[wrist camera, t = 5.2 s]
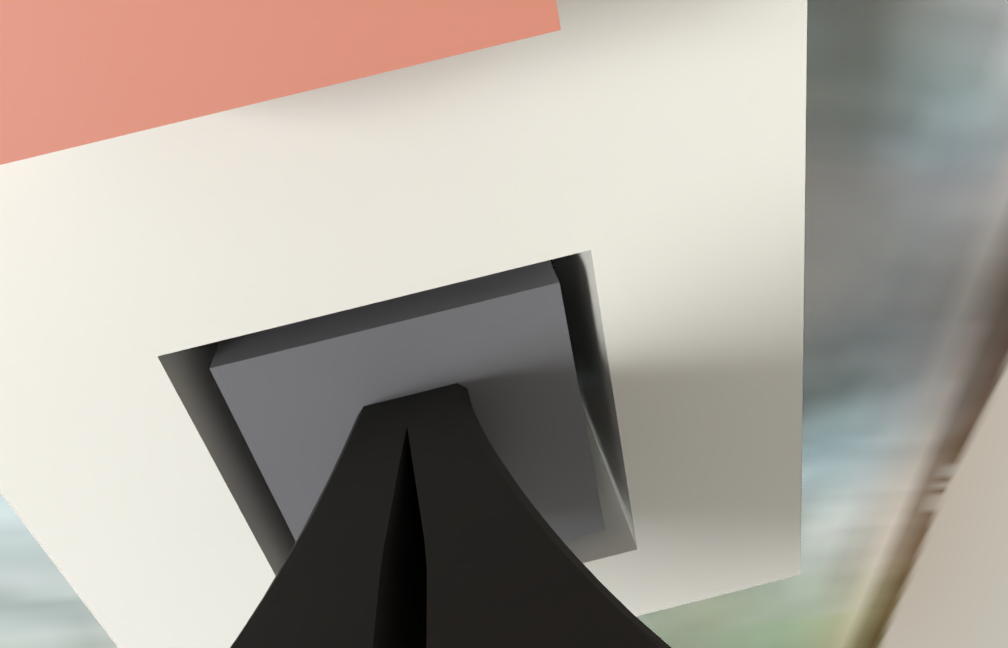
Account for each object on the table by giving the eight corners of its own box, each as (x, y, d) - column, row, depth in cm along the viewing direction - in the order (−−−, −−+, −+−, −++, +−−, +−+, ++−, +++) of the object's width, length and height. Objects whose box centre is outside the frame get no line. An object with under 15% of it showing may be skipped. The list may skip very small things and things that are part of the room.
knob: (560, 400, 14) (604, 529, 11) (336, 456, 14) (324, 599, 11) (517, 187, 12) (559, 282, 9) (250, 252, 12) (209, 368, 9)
